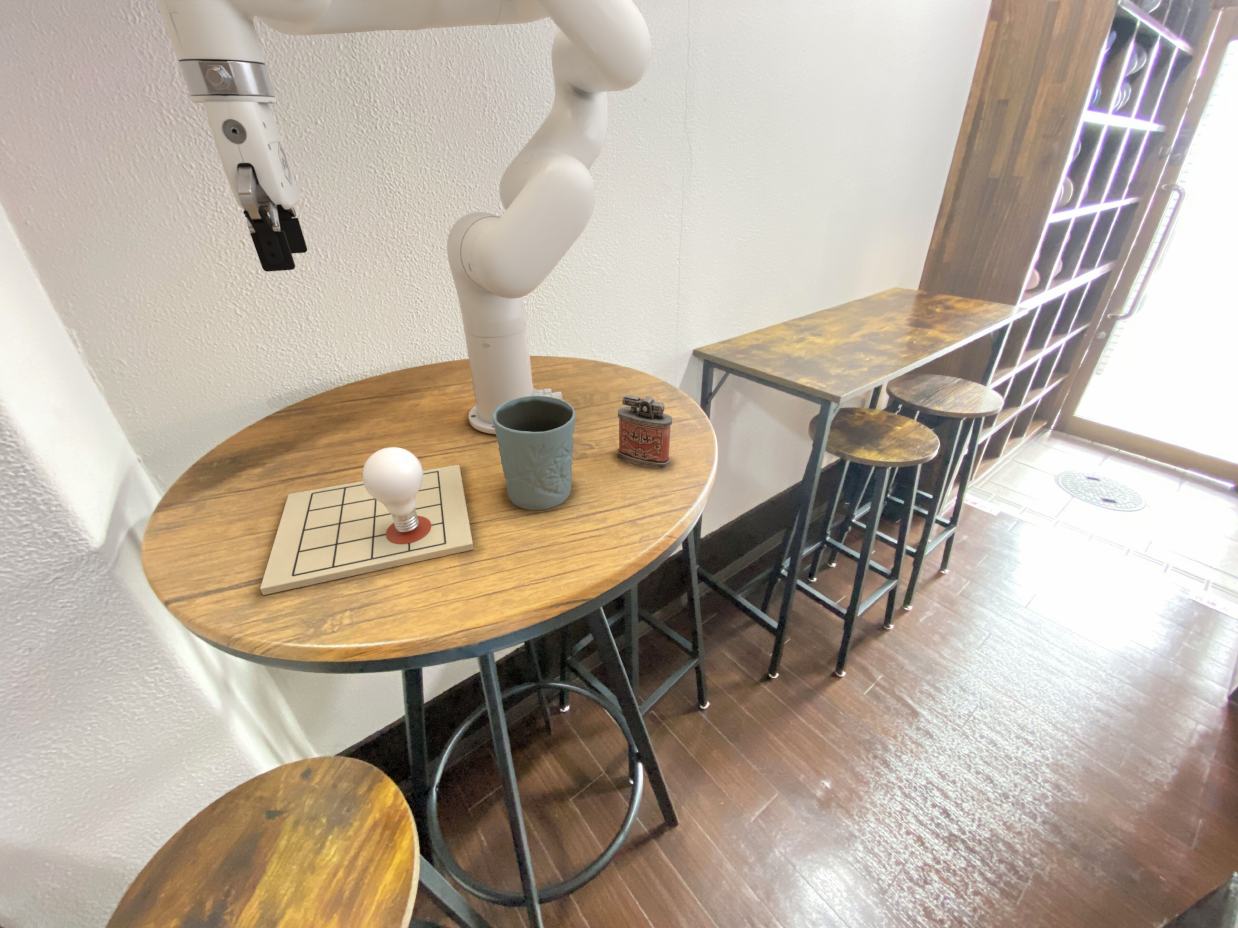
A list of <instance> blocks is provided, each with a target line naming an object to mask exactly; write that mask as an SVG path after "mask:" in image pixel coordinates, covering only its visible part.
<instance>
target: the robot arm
mask: <svg viewBox="0 0 1238 928" xmlns="http://www.w3.org/2000/svg"><path fill="white" fill-rule="evenodd" d="M155 2H156V4H157V8H158V11H159V13H160V16H161V18H162V21H163V24H164V27H165V29H166V32H167V35H168V37H169V40H170V43H171V46H172V48H173V52H174V54H175V57H176V60H177V61H178V67H179V69H180V72H181V74H182V77H183V79H184V82H185V85H186V87H187V88H186V89H187V90H188V93H189V96H190V99H191V102H192V103H196V104H197V103H198V104H203V105H204V108H205V109H204V110H205V113H206V116H207V119H208V124H209V128H210V129H211V133H212V136H213V140H214V142H215V146H216V149H217V152H218V156H219V158H220V161H221V164H222V167H223V170H224V173H225V177H226V179H227V182H228V185H229V187H230V190H231V192H232V194H233V197H234V199H235V202H236V203H237V205H238V207H239V208H241V209H242V210H243V215H244V217H245V218H246V225H247V228H248V231H249V233H250V237H251V240H252V243H253V247H254V249H255V251H256V254H257V257H258V260H259V262H260V265H261V266H260V267H261V268H262V270H263V271H264V272H269V273H270V272H282V271H293V270H294V269H295V268H296V263H295V259H294V257H293V254H305V253H307V252H308V246H307V243H306V239H305V237H304V232H303V230H302V229H303V228H302V227H301V224H300V220H299V217H297V211H296V209H295V205H296V204H298V202H299V201H300V200H301V193H300V189H299V186H298V183H297V180H296V177H295V174H294V172H293V168H292V166H291V163H290V160H289V156H288V154H287V150H286V147H285V145H284V141H283V139H282V135H281V133H280V131H279V127H278V124H277V122H276V119H275V117H274V114H273V112H272V110H271V107H270V105H271V104H278V102H277V98H276V95H275V90H274V87H273V84H272V81H271V78H270V74H269V70H268V67H267V65H266V60H265V57H264V53H263V50H262V47H261V43H260V40H259V36H258V33H257V30H256V29H257V28H256V27H255V22H254V19H255V17H257V18H258V20H260V21H261V22H262V23H263V24H265V25H266V26H267V27H269V28H270V29H272V30H274V31H276V32H278V33H281V34H283V35H289V36H315V35H316V36H319V35H335V34H339V35H340V34H354V33H368V32H377V31H378V32H380V31H420V30H427V29H428V30H429V29H442V28H443V29H444V28H445V29H446V28H460V27H470V26H471V27H472V26H502V25H520V24H522V25H523V24H529V23H534V22H537V21H540V20H542V19H547V18H550V20H552V22H553V23H554V24H555V25H556V26H557V27H558V30H557V31H556V33H555V35H554V38H553V42H552V45H551V67H552V73H553V79H554V81H553V82H554V99H553V104H552V106H551V108H550V111H549V112H548V114H547V116H546V117H545V119H544V120H543V122H542V124H540V125H539V128H538V129H537V130H536V131H535V133H534V134H533V135H532V136H531V138H530V139H529V140H528V141H527V143H526V144H525V145H524V146H523V147H522V149H521V150H520V151H519V153H518V154H517V155H516V156H515V157H514V158H513V159H512V160H511V162H510V163H509V164H508V166H507V167H506V168H505V170H504V172H503V174H502V176H501V179H500V182H499V198H500V202H501V204H502V206H503V208H504V210H505V211H504V212H503V213H502V215H501V216H499V215H495V214H493V213H490V212H483V211H475V212H470V213H467V214H466V213H465V215H462V216H461V217H459V218H458V219H457V220H456V221H455V222H454V224H453V225H452V226H451V229H450V230H449V232H448V237H447V240H446V241H447V242H446V254H447V260H448V265H449V269H450V272H451V276H452V278H453V283H454V287H455V290H456V295H457V297H458V303H459V308H460V312H461V313H460V314H461V319H462V325H463V332H464V338H465V345H466V350H467V356H468V357H467V358H468V362H469V363H468V364H469V369H470V374H471V381H472V386H473V393H474V399H475V405H474V406H473V407H472V408H471V409H470V410H469V412H468V417H467V418H468V421H469V424H470V426H471V427H472V428H473V429H475V430H477V431H479V432H482V433H485V434H491V435H496V432H495V428H494V423H493V418H492V415H493V412H494V411H495V409H496V408H497V407H499V406H500V405H501V404H503V403H505V402H507V401H510V400H513V399H516V398H520V397H526V396H547V397H553V398H557V399H560V400H563V401H564V399H563V394H562V391H554V392H553V391H552V388H550V387H548V388H543V389H537V388H535V387H534V384H533V374H532V373H533V372H532V363H531V355H530V354H531V353H530V344H529V333H528V321H527V311H526V305H525V299H524V297H525V296H527V295H529V294H531V293H532V292H534V291H535V290H536V289H537V288H538V287H539V286H540V285H541V284H542V283H543V282H544V281H545V280H546V279H547V278H548V276H549V275H550V274H551V272H552V271H553V270H554V269H555V267H556V266H557V265H558V264H559V263H560V261H561V260H562V259H563V258H564V256H565V255H566V254H567V252H569V250H570V249H571V248H572V246H573V245H574V244H575V242H576V241H577V240H578V239H579V238H580V236H581V234H582V233H583V232H584V231H585V229H586V227H587V226H588V224H589V222H590V220H591V218H592V215H593V212H594V209H595V202H596V189H595V183H594V179H593V177H592V175H591V173H590V169H591V168H592V166H593V165H594V164H595V162H596V161H597V159H598V157H599V156H600V154H601V153H602V150H603V148H604V146H605V143H606V140H607V135H608V127H609V126H608V123H609V121H608V119H609V117H608V116H609V114H608V111H609V110H608V109H609V108H608V95H607V93H608V92H620V91H625V90H628V89H630V88H632V87H634V86H635V85H637V84H638V83H639V82H640V81H641V80H642V79H643V77H644V76H645V74H646V73H647V70H648V68H649V66H650V62H651V58H652V39H651V35H650V30H649V27H648V24H647V23H646V20H645V18H644V15H643V14H642V12H641V11H640V10H639V8H638V7H637V5H636V4H635V2H634V1H633V0H155Z"/></svg>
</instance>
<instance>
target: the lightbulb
mask: <svg viewBox="0 0 1238 928" xmlns="http://www.w3.org/2000/svg"><path fill="white" fill-rule="evenodd" d="M423 471H424V468H423V465H422V463H421V461H420V460H419V458H418V457H417V456H416V455H415V454H414V453H412V452H411V451H410V450H408V449H405V448H403V447H400V446H399V447H398V446H387V447H383V448H381V449H378V450H377V451H375V452H373V453H372V454H370V456H369V457H368V458H367V459H366V461H365V462H364V464H363V466H362V472H361V481H363V484H364V487H365V489H366V490H367V492H368V493H369V494H370V495H371V496H372V497H373V498H375V499H376V500H378V501H379V502H381V503H383V504H384V505H385V507H386V509H387V510H388V511H389V512H390V513H391V515H392V518H393V521H394V524H395V528H396V530H397V531H399V532H409V531H412V530H414V529H415V528H416V527H417V526H418V525H419V520H418V517H417V513H416V509H415V506H416V496H417V493H418V492H419V490H420V488H421V485H422V482H423Z"/></svg>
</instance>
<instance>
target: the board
mask: <svg viewBox="0 0 1238 928" xmlns="http://www.w3.org/2000/svg"><path fill="white" fill-rule="evenodd" d="M461 471H462V470H461V466H460V464H454V465H447V466H443V467H437V468H436V467H435V468H430V469H425V470H424V469H423V482H422V485H421V488H420V490H419V492H418V493H417V496H416V506H415V509H416V513H417V517H418V520H419V525H418V526H417V527H416V528H415V529H414V530H412V531H409V532H399V531H397V530H396V528H395V524H394V521H393V518H392V515H391V513H390V512H389V511H388V510H387V509H386V507H385V505H384V504H383V503H381V502H379V501H378V500H376V499H375V498H373V497H372V496H371V495H370V494H369V493H368V492H367V490H366V489H365V487H364V484H363V481H362V480H361V481H355V482H350V483H344V484H337V485H333V486H326V487H320V488H314V489H310V490H303V491H298V492H292V493H288V495H287V498H286V502H285V503H284V507H283V511H282V515H281V518H280V521H279V524H278V528H277V531H276V535H275V538H274V541H273V545H272V548H271V551H270V554H269V558H268V561H267V564H266V568H265V571H264V574H263V577H262V581H261V584H260V587H259V589H260V592H261V594H262V595H263V596H266V595H267V596H268V595H271V594H275V593H279V592H280V593H281V592H285V591H290V590H294V589H298V588H304V587H308V586H312V585H316V584H321V583H325V582H331V581H336V580H339V579H345V578H349V577H353V576H358V575H363V574H367V573H372V572H377V571H382V570H386V569H391V568H396V567H399V566H405V565H409V564H414V563H417V562H423V561H427V560H433V559H437V558H441V557H446V556H451V555H455V554H459V553H465V552H470V551H473V550H474V542H473V541H474V540H473V536H472V531H471V524H470V518H469V513H468V507H467V500H466V495H465V489H464V484H463V478H462V472H461Z"/></svg>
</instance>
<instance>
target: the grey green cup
mask: <svg viewBox="0 0 1238 928" xmlns="http://www.w3.org/2000/svg"><path fill="white" fill-rule="evenodd" d="M492 418H493V423H494V428H495V432H496V434H495V436H496V441H497V446H498V453H499V457H500V464H501V467H502V468H501V469H502V472H503V478H505V488H506V493H507V497H508V499H509V500H510V502H511V503H512V504H513V505H514V506H516V507H518V508H520V509H524V510H528V511H542V510H543V511H544V510H548V509H552V508H555V507H557V506H559V505H561V504H562V503H564V502H565V501H566V500H567V499H568V498H569V496H570V494H571V491H572V476H573V470H572V469H573V458H574V457H573V455H574V454H573V453H574V441H575V439H574V433H575V424H576V410H575V409H574V407H573V406H572V405H571V404H570V402H567V401H566V400H564V399H563V400H560V399H557V398H553V397H547V396H526V397H520V398H516V399H513V400H510V401H507V402H505V403H503V404H501V405H500V406H499V407H497V408H496V409H495V411H494V412H493V415H492Z"/></svg>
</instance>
